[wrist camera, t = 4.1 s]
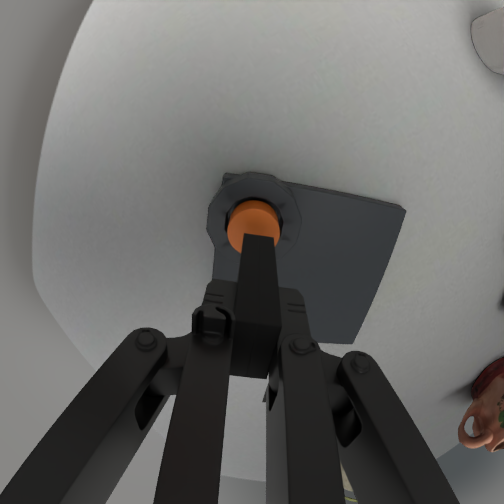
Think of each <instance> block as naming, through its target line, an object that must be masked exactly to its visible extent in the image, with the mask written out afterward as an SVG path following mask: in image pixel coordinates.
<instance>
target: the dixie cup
mask: <svg viewBox="0 0 504 504" xmlns="http://www.w3.org/2000/svg"><path fill="white" fill-rule="evenodd" d="M471 36H472V41H473V44H474V47H475V49H476V51H477V53H478V55H479V57H480V58H481V60H482V61H483V62H484V64H485V65H486V66H487V67H488V68H489V69H490V70H492V71H493V72H495V73H499V74H504V7H502V8H499V9H497V10H495V11H492V12H490V13H488V14H485V15H483V16H481V17H479V18H477V19H475V20H474V21H473V23H472V26H471Z"/></svg>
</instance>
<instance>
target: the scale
mask: <svg viewBox="0 0 504 504" xmlns="http://www.w3.org/2000/svg"><path fill="white" fill-rule="evenodd" d="M249 200H258V201H262V202H265V203H267V204H268V205H270V206H271V207H272V208H273V209H274V211H275V212H276V214H277V217H278V223H279V228H280V237H279V240H278V243H277V244H276V246H275V255H276V265H277V275H278V286H279V287H284V288H292V289H298V291H299V292H300V293H301V294H302V296H303V297H304V302H305V307H306V313H307V317H308V322H309V327H310V332H311V337H312V338H313V339H314V340H315V341H316V342H318V343H334V344H353V342H354V340H355V338H356V336H357V334H358V332H359V330H360V328H361V326H362V323H363V321H364V319H365V317H366V315H367V313H368V310H369V308H370V306H371V304H372V301H373V299H374V297H375V294H376V292H377V290H378V287H379V285H380V282H381V280H382V278H383V275H384V273H385V270H386V267H387V265H388V262H389V260H390V257H391V254H392V252H393V249H394V246H395V243H396V241H397V238H398V235H399V232H400V229H401V226H402V223H403V220H404V217H405V214H406V210H405V209H404V208H402V207H401V206H400V205H396V204H392V203H387V202H383V201H379V200H375V199H370V198H366V197H361V196H357V195H352V194H348V193H343V192H338V191H333V190H328V189H323V188H318V187H312V186H307V185H301V184H296V183H290V182H284V181H279V180H278V179H276V178H275V177H274V176H272V175H265V174H259V173H252V172H248V173H245V174H242V175H238V174H230V173H225V174H224V176H223V181H222V187H221V188H220V190H219V191H218V192H217V193H216V195H215V196H214V197H213V199H212V201H211V203H210V205H209V207H208V217H207V228H206V229H207V232H208V234H209V236H210V238H211V240H212V242H213V244H214V246H215V254H214V265H213V276H212V280H213V279H219V280H226V281H233V282H237V277H238V270H239V263H240V256H241V253H239V252H238V251H236V250H235V249H234V248H233V247H232V245H231V244H230V242H229V239H228V235H227V229H228V224H229V220H230V217H231V214H232V212H233V210H234V209H235V208H236V207H237V206H238V205H239V204H241V203H243V202H245V201H249Z"/></svg>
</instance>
